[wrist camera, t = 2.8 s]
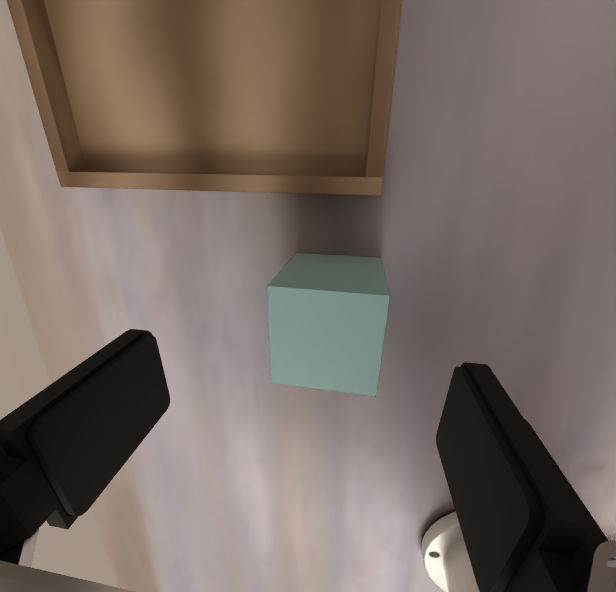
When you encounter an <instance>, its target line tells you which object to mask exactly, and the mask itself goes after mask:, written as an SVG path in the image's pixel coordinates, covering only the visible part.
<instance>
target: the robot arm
mask: <svg viewBox="0 0 616 592" xmlns="http://www.w3.org/2000/svg"><path fill="white" fill-rule="evenodd" d="M169 404H170V395H169V391H168V387H167V383H166V378H165V374H164V370H163V366H162V362H161V357H160V353H159V349H158V345H157V341H156V338H155V337H154V336H152V333H151V332H149V331H146V330H135V329H130V330H128V331H126V332H125V333H123V334H122V335H120V336H119V337H118V338H116V339H115V340H113V341H112V342H110V343H109V344H108V345H106V346H105V347H103V348H102V349H100V350H99V351H98V352H96V353H95V354H93V355H92V356H91V357H89V358H88V359H86V360H85V361H83V362H82V363H81V364H79V365H78V366H76V367H75V368H74V369H72V370H71V371H69V372H68V373H66V374H65V375H64V376H62V377H61V378H59V379H58V380H57V381H55V382H54V383H52V384H51V385H49V386H48V387H47V388H45V389H44V390H42V391H41V392H40V393H38V394H37V395H35V396H34V397H33V398H31V399H30V400H28V401H27V402H25V403H24V404H23V405H21V406H20V407H18V408H17V409H15V410H14V411H13V412H11V413H10V414H8V415H7V416H5V417H4V418H3V419H1V420H0V592H134V591H130V590H126V589H121V588H117V587H113V586H108V585H104V584H100V583H96V582H91V581H87V580H83V579H78V578H74V577H69V576H65V575H61V574H56V573H52V572H48V571H43V570H39V569H34V568H31V564H32V559H33V555H34V550H35V545H36V541H37V536H38V531H39V527H40V526H41V525H42V524H43V523H44V522H45V521H46V520H47V522H48V524H49V525H50V526H55V527H60V528H64V529H69V527H70V526H71V525H72V524H73V523H74V521H75V520H76V519H77V517H78V516H80V515H83V514H84V513H85V512H86V511H87V510H88V509H89V508H90V507H91V505H92V504H93V503H94V502H95V500H96V499H97V498H98V497H99V495H100V494H101V493H102V491H103V490H104V489H105V488H106V486H107V485H108V484H109V483H110V481H111V480H112V479H113V478H114V476H115V475H116V474H117V472H118V471H119V470H120V469H121V467H122V466H123V465H124V464H125V462H126V461H127V460H128V458H129V457H130V456H131V455H132V453H133V452H134V451H135V450H136V448H137V447H138V446H139V445H140V443H141V442H142V441H143V439H144V438H145V437H146V436H147V434H148V433H149V432H150V431H151V429H152V428H153V427H154V425H155V424H156V423H157V422H158V420H159V419H160V418H161V417H162V415H163V414H164V413H165V412H166V410H167V409H168V407H169ZM436 443H437V448H438V452H439V455H440V459H441V462H442V465H443V469H444V472H445V476H446V479H447V483H448V486H449V490H450V493H451V497H452V500H453V504H454V507H455V510H456V511H455V512H452V513H450V514H448V515H446V516H444V517H442V518H440V519H439V520H438V521H437V522H435V523H434V524H433V525H432V526H431V527H430V528H429V529H428V531H427V532H426V533H425V535H424V538H423V540H422V556H423V562H424V567H425V569H426V571H427V573H428V575H429V576H430V578H431V579H432V580H433V581H434V583H436V584H437V585H438V586H439V587H440V588H441V589H442V590H444V591H445V592H616V541H608V539H607V538H606V536H605V535H604V533H603V532H602V530H601V529H600V527H599V526H598V525H597V523H596V522H595V520H594V519H593V517H592V516H591V514H590V513H589V511H588V510H587V508H586V507H585V505H584V504H583V502H582V501H581V499H580V498H579V496H578V495H577V493H576V492H575V491H574V489H573V488H572V486H571V485H570V483H569V482H568V480H567V479H566V477H565V476H564V474H563V473H562V471H561V470H560V468H559V467H558V465H557V464H556V462H555V461H554V459H553V458H552V457H551V455H550V454H549V452H548V451H547V449H546V448H545V446H544V445H543V443H542V442H541V440H540V439H539V437H538V436H537V434H536V433H535V431H534V430H533V428H532V427H531V426H530V424H529V423H528V422H527V421H526V420H525V419H524V418H523V417H522V415H521V414H520V412H519V411H518V409H517V408H516V406H515V405H514V403H513V402H512V400H511V399H510V397H509V396H508V394H507V393H506V391H505V390H504V388H503V387H502V385H501V384H500V382H499V381H498V379H497V378H496V376H495V375H494V373H493V372H492V370H491V369H490V367H489V366H488V365H486V364H477V363H467V362H464V363H463V364H462V365H461V367H456V368H455V369H454V372H453V376H452V379H451V383H450V387H449V390H448V394H447V398H446V401H445V405H444V409H443V412H442V416H441V420H440V423H439V427H438V431H437V435H436Z"/></svg>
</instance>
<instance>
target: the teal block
mask: <svg viewBox="0 0 616 592" xmlns="http://www.w3.org/2000/svg"><path fill="white" fill-rule="evenodd" d="M267 295H268V321H269V347H270V373H271V383H278V384H286V385H293V386H301V387H308V388H316V389H323V390H330V391H338V392H345V393H353V394H360V395H367V396H375V397H376V393H377V386H378V378H379V371H380V364H381V356H382V349H383V342H384V335H385V327H386V320H387V313H388V305H389V298H390V295H389V290H388V286H387V282H386V277H385V273H384V268H383V264H382V260H381V258H376V257H360V256H343V255H327V254H310V253H296V254H295V255H294V257H293V258H292V259H291V260H290V261H289V262H288V263H287V264H286V266H285V267H284V268H283V269H282V270H281V271H280V272H279V273H278V274H277V276H276V277H275V278H274V279H273V280H272V281H271V282H270V283H269V284H268V286H267Z"/></svg>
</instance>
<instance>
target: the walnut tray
mask: <svg viewBox="0 0 616 592" xmlns="http://www.w3.org/2000/svg"><path fill="white" fill-rule="evenodd" d="M7 3H8V6H9V9H10V13H11V16H12V20H13V23H14V27H15V30H16V34H17V37H18V40H19V44H20V47H21V51H22V54H23V58H24V61H25V65H26V68H27V71H28V75H29V78H30V82H31V85H32V89H33V92H34V96H35V99H36V103H37V106H38V109H39V113H40V116H41V120H42V123H43V127H44V130H45V134H46V137H47V140H48V144H49V147H50V151H51V154H52V158H53V161H54V165H55V168H56V171H57V175H58V178H59V182H60V185H61V187H89V188H126V189H162V190H198V191H234V192H270V193H306V194H342V195H379V196H381V191H382V182H383V173H384V164H385V154H386V145H387V136H388V127H389V118H390V108H391V99H392V90H393V81H394V72H395V62H396V53H397V44H398V35H399V25H400V16H401V7H402V0H7Z"/></svg>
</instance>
